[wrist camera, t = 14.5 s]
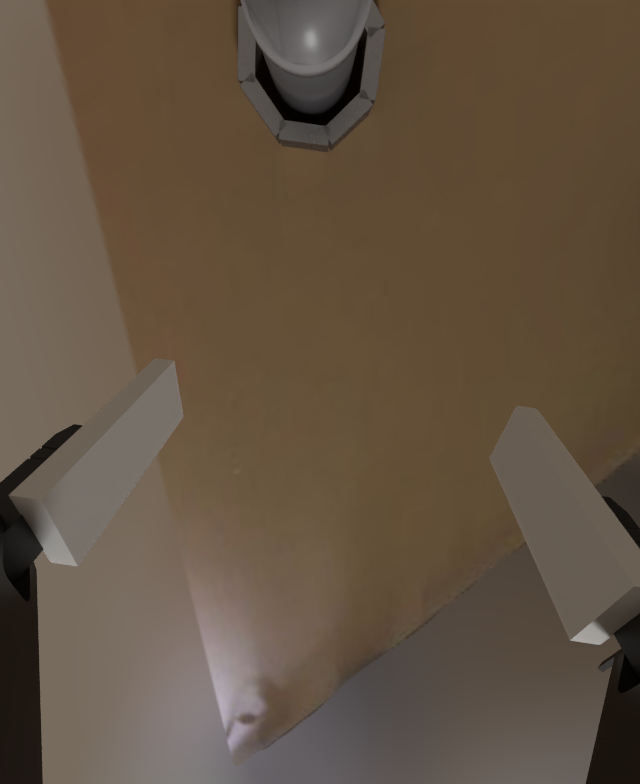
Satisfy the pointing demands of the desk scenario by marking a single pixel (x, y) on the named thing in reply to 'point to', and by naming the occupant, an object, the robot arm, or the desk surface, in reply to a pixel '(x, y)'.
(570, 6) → the desk surface
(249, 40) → the collar
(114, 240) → the desk surface
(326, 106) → the tube
